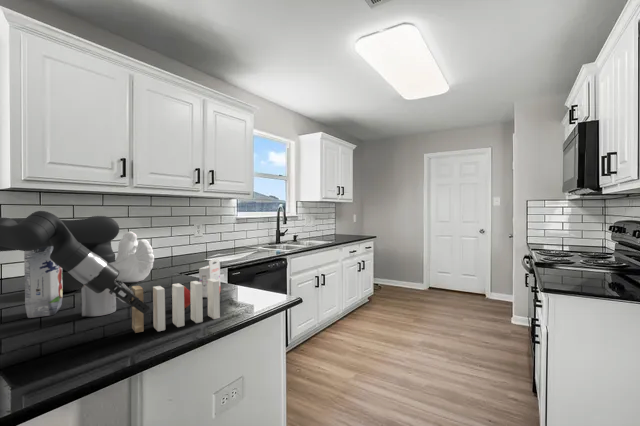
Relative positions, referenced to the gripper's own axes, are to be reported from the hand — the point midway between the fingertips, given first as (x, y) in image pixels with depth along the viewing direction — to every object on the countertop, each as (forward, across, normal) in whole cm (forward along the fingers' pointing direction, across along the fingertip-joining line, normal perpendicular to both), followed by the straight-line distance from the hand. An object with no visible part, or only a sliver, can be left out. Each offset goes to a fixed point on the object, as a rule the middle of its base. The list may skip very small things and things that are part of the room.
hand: (144, 308), depth 96 cm
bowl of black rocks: (-6, -76, -16) cm, 78 cm away
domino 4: (+19, 0, +10) cm, 21 cm away
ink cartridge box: (+26, -29, +16) cm, 42 cm away
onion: (+16, -16, +6) cm, 23 cm away
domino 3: (+15, 0, +6) cm, 16 cm away
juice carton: (-11, -42, -21) cm, 48 cm away
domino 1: (+7, 0, -2) cm, 8 cm away
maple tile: (+3, 0, -5) cm, 6 cm away
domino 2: (+11, 0, +2) cm, 11 cm away
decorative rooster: (+13, -78, +3) cm, 79 cm away
